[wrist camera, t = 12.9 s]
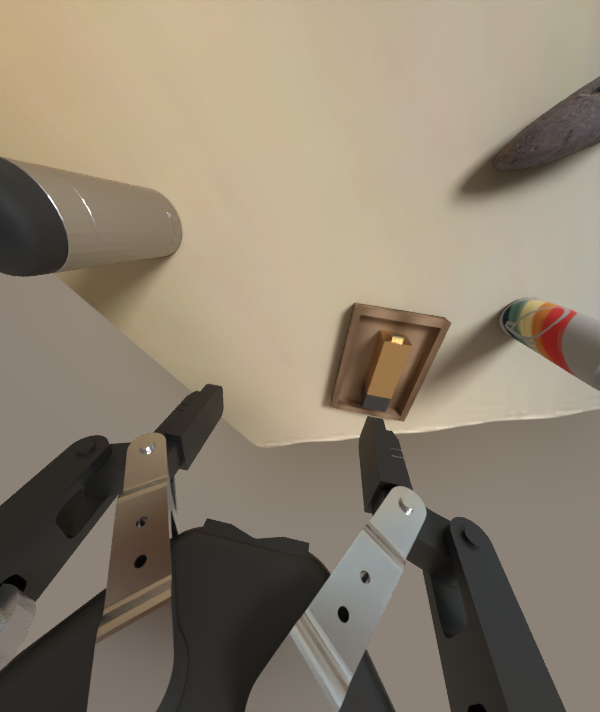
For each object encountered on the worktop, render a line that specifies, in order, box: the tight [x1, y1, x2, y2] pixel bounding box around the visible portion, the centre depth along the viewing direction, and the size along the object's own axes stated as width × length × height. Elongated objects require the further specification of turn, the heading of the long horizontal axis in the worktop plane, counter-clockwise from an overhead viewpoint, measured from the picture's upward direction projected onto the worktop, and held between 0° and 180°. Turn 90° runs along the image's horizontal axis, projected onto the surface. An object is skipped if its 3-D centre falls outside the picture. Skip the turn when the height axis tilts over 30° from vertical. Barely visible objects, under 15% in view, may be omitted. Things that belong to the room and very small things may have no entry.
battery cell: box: [361, 330, 412, 412], centre depth 38 cm, size 4×14×4 cm, turn 173°
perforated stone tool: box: [493, 77, 600, 170], centre depth 21 cm, size 15×5×7 cm, turn 115°
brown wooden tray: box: [331, 303, 451, 422], centre depth 40 cm, size 14×20×2 cm
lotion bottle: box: [499, 298, 600, 391], centre depth 25 cm, size 6×6×20 cm
